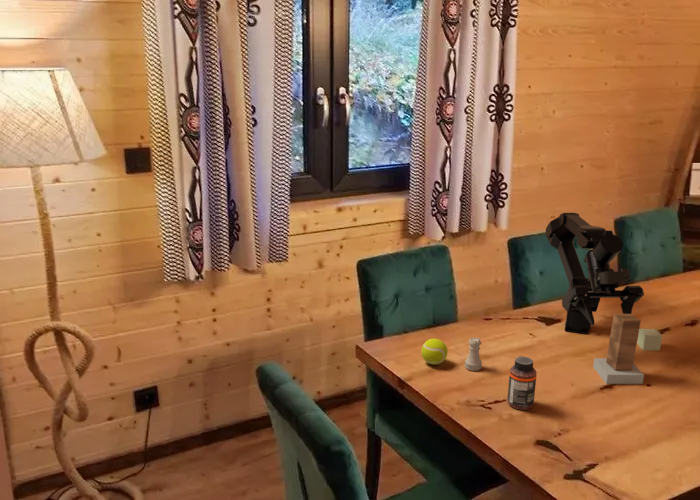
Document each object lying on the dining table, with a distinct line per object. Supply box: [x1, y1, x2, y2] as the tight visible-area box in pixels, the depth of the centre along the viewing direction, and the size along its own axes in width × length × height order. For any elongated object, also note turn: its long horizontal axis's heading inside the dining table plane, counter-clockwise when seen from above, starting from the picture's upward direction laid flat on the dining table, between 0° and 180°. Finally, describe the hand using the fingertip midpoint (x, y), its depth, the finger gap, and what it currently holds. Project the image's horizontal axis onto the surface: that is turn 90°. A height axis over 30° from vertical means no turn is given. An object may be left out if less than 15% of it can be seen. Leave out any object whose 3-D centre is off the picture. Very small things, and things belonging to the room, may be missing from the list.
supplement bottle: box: [507, 355, 537, 411], centre depth 155 cm, size 6×6×11 cm
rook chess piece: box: [464, 336, 483, 372], centre depth 173 cm, size 4×4×8 cm
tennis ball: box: [421, 338, 448, 366], centre depth 176 cm, size 7×7×7 cm
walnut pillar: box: [606, 313, 641, 370], centre depth 169 cm, size 4×4×13 cm
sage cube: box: [637, 328, 663, 352], centre depth 187 cm, size 4×4×4 cm
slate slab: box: [592, 357, 645, 385], centre depth 171 cm, size 9×9×3 cm
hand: (610, 324), depth 176 cm, fingers open, 9 cm apart
